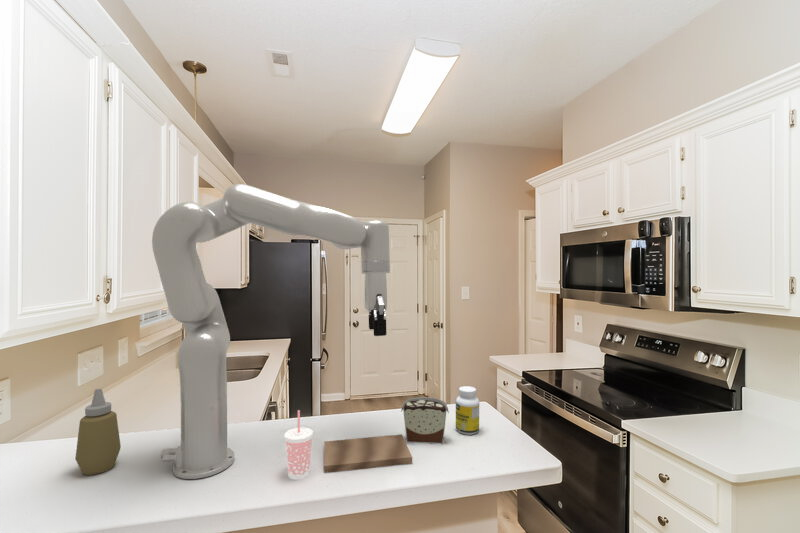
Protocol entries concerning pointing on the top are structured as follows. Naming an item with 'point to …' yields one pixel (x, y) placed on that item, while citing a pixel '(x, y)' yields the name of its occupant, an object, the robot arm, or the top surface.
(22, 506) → the top surface
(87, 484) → the top surface
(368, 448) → the walnut board
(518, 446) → the top surface
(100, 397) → the squeeze bottle
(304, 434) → the beverage cup
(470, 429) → the pill bottle
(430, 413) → the food container
